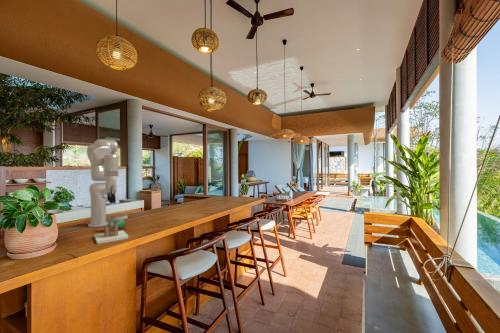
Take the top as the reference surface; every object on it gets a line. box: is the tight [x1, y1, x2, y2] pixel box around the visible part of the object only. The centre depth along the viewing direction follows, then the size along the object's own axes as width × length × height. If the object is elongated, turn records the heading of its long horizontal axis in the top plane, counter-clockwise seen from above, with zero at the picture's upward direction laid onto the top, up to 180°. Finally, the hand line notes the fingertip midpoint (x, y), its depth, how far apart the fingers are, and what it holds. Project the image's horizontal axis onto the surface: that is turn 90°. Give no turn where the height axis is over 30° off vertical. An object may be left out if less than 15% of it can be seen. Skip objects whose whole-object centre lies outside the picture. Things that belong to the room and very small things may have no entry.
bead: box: [104, 224, 118, 237], centre depth 142 cm, size 6×6×6 cm
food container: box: [107, 215, 129, 231], centre depth 157 cm, size 12×6×10 cm, turn 101°
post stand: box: [94, 222, 129, 245], centre depth 142 cm, size 16×16×10 cm
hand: (111, 201), depth 142 cm, fingers open, 9 cm apart
